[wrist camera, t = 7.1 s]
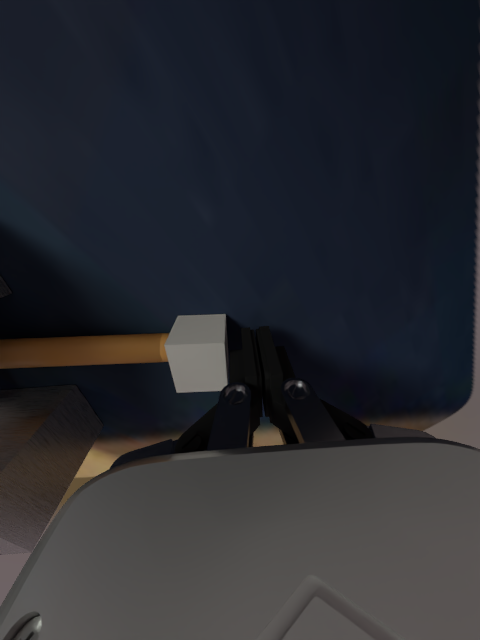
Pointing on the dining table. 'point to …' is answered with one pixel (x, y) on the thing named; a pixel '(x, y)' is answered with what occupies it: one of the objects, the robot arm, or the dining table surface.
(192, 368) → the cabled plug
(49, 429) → the cylinder
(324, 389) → the dining table surface
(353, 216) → the dining table surface
